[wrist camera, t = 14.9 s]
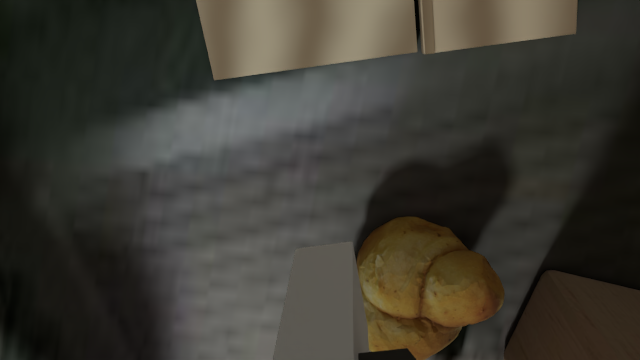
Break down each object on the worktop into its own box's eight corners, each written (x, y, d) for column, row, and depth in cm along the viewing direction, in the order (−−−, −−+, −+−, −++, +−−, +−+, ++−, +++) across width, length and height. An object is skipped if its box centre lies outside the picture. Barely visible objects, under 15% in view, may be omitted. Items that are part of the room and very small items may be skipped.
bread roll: (412, 349, 43) (423, 425, 36) (315, 305, 42) (306, 374, 35) (495, 238, 38) (528, 300, 31) (387, 185, 37) (394, 236, 30)
